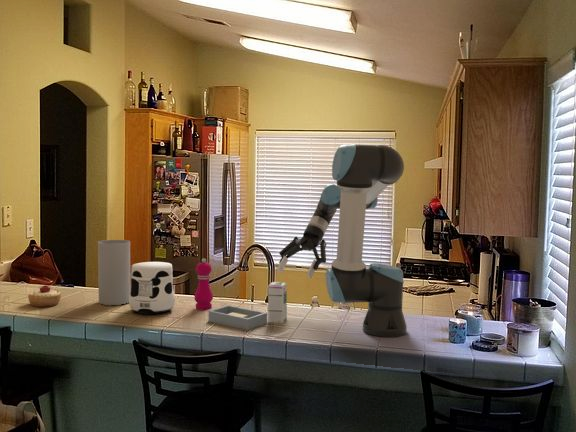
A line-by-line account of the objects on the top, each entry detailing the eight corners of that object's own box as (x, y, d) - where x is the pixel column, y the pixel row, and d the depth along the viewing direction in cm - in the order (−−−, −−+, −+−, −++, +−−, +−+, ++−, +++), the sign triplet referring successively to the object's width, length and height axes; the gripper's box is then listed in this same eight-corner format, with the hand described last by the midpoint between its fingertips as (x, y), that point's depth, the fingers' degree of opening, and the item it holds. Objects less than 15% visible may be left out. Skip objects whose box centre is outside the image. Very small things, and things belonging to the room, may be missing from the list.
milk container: (165, 303, 239) (165, 260, 238) (181, 313, 225) (181, 266, 223) (123, 308, 230) (122, 263, 228) (137, 319, 216) (137, 270, 214)
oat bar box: (247, 322, 211) (247, 315, 210) (240, 324, 207) (240, 317, 207) (232, 319, 215) (232, 312, 214) (225, 321, 211) (225, 314, 211)
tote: (266, 325, 210) (267, 312, 210) (247, 332, 201) (248, 319, 201) (228, 316, 220) (228, 305, 220) (208, 323, 211) (208, 311, 211)
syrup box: (283, 325, 210) (284, 285, 209) (267, 324, 212) (268, 284, 210) (286, 321, 216) (287, 282, 215) (271, 320, 217) (271, 281, 216)
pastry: (66, 303, 240) (66, 281, 239) (51, 309, 228) (51, 286, 228) (38, 300, 241) (38, 279, 241) (22, 307, 230) (22, 284, 229)
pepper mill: (214, 309, 231) (215, 259, 229) (196, 311, 228) (196, 260, 226) (210, 305, 237) (210, 256, 235) (192, 306, 235) (192, 257, 233)
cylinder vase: (123, 297, 249) (122, 239, 246) (135, 303, 239) (135, 242, 237) (94, 301, 241) (93, 241, 238) (105, 307, 231) (105, 244, 229)
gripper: (346, 239, 228) (325, 283, 217) (293, 233, 242) (271, 275, 231) (340, 226, 223) (318, 271, 212) (286, 222, 237) (263, 263, 226)
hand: (293, 273), depth 221 cm, fingers open, 13 cm apart
